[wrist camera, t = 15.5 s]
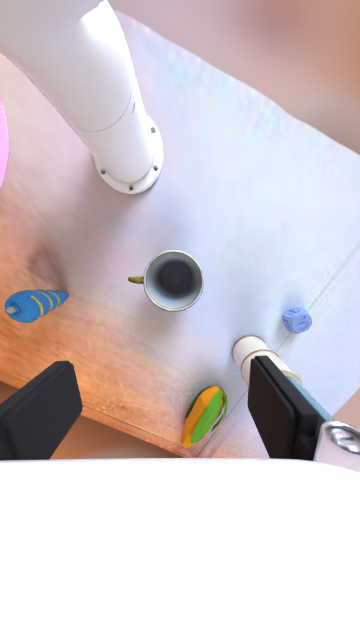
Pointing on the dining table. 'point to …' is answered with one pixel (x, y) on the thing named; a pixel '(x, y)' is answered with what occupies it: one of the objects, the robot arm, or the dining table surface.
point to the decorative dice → (297, 320)
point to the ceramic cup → (172, 280)
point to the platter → (3, 144)
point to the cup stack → (254, 347)
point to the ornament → (33, 304)
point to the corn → (203, 415)
